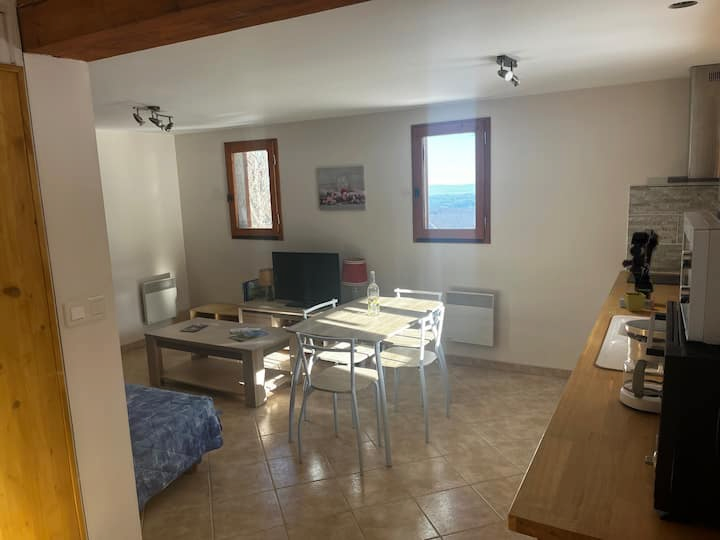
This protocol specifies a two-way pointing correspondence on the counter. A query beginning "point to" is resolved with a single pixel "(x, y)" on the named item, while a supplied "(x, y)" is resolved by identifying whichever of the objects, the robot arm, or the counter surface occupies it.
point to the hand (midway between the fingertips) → (638, 283)
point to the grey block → (622, 303)
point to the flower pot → (634, 301)
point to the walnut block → (648, 304)
